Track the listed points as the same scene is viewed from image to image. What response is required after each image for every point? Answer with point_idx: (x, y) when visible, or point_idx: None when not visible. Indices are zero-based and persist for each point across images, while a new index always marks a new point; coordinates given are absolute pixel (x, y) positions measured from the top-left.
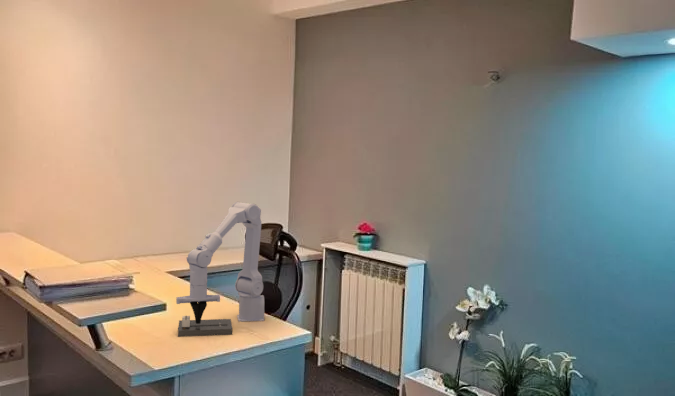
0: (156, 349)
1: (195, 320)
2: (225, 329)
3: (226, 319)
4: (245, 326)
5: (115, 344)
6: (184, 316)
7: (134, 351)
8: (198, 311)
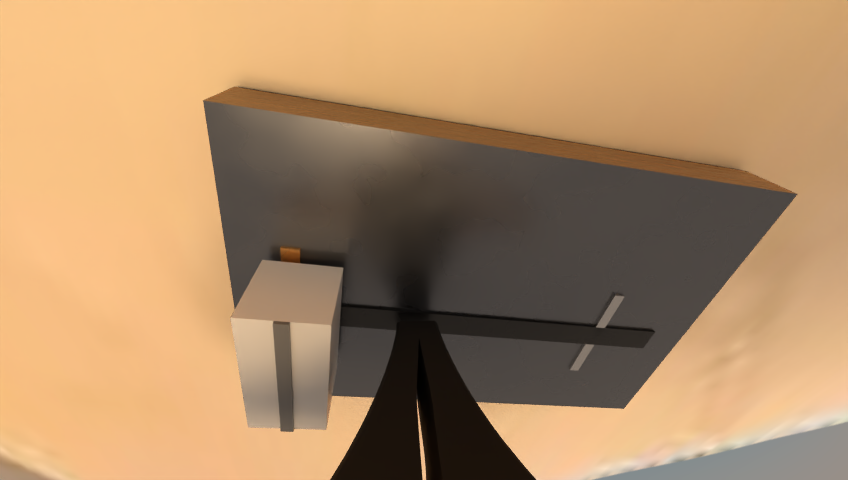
0: (174, 465)
1: (395, 334)
2: (579, 404)
3: (746, 203)
4: (805, 237)
5: None
6: (260, 341)
7: (63, 471)
8: (431, 437)
